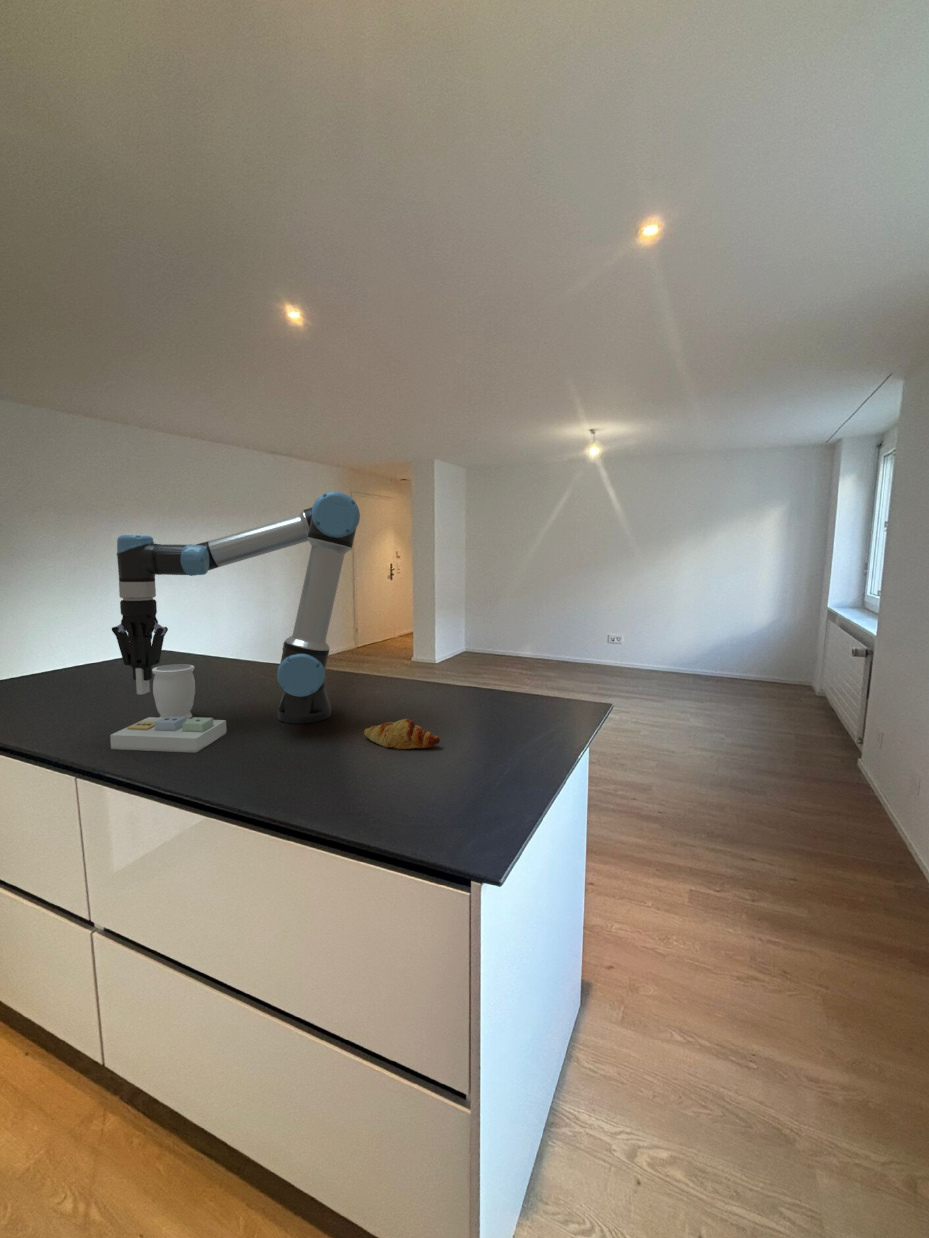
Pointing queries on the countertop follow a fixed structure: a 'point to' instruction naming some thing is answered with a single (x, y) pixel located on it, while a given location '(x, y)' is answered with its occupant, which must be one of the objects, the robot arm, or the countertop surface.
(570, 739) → the countertop surface
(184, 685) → the jar
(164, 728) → the tile two
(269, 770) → the countertop surface
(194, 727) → the tile one
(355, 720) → the countertop surface
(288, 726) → the countertop surface
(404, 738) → the croissant
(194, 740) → the button board
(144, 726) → the tile three
